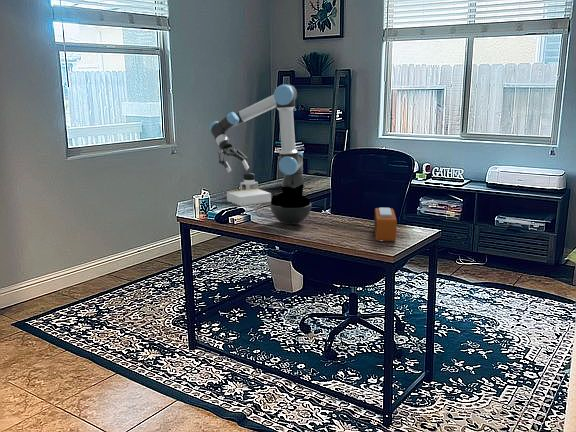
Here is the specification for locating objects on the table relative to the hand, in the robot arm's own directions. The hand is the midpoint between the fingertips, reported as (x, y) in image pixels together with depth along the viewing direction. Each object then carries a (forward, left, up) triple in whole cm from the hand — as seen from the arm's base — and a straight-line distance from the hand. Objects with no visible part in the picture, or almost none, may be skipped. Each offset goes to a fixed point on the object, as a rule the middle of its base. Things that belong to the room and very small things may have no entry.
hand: (239, 170), depth 343 cm
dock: (+7, +25, -14) cm, 29 cm away
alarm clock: (-11, +119, -14) cm, 120 cm away
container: (-2, +9, -14) cm, 17 cm away
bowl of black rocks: (+14, +80, -14) cm, 82 cm away
